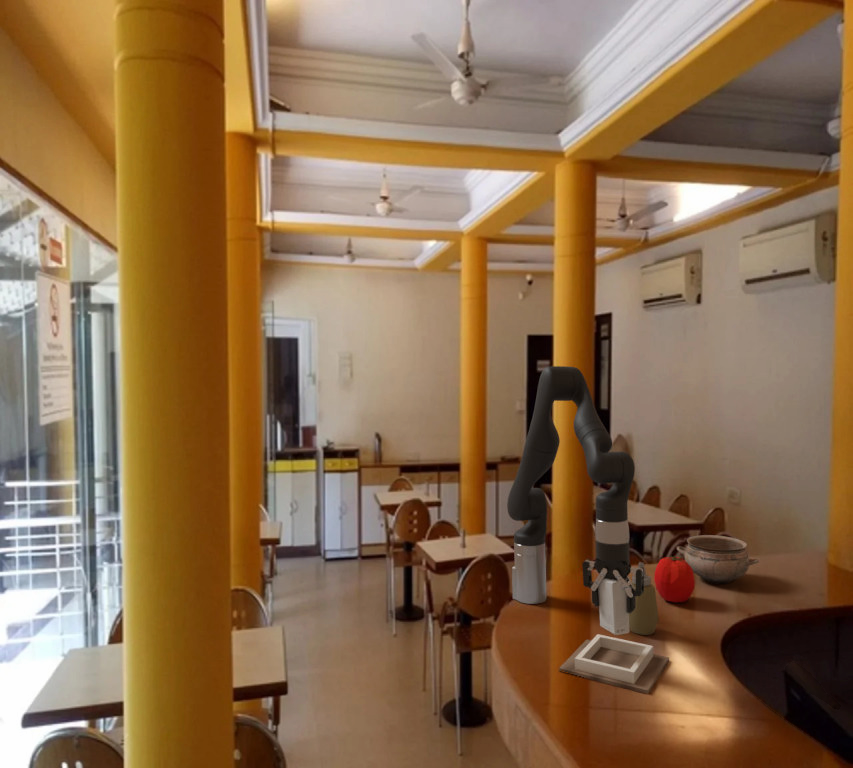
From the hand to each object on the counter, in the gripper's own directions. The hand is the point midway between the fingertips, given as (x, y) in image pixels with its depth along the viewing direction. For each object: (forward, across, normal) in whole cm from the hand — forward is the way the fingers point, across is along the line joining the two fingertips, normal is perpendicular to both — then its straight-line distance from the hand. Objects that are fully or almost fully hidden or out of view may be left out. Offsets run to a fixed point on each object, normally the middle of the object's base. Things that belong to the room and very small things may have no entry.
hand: (613, 608), depth 150 cm
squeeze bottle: (+14, 0, +23) cm, 27 cm away
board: (+13, 0, 0) cm, 13 cm away
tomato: (+14, +2, +49) cm, 51 cm away
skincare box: (+5, 0, 0) cm, 5 cm away
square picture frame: (+13, 0, 0) cm, 13 cm away
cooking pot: (+14, +9, +74) cm, 76 cm away
